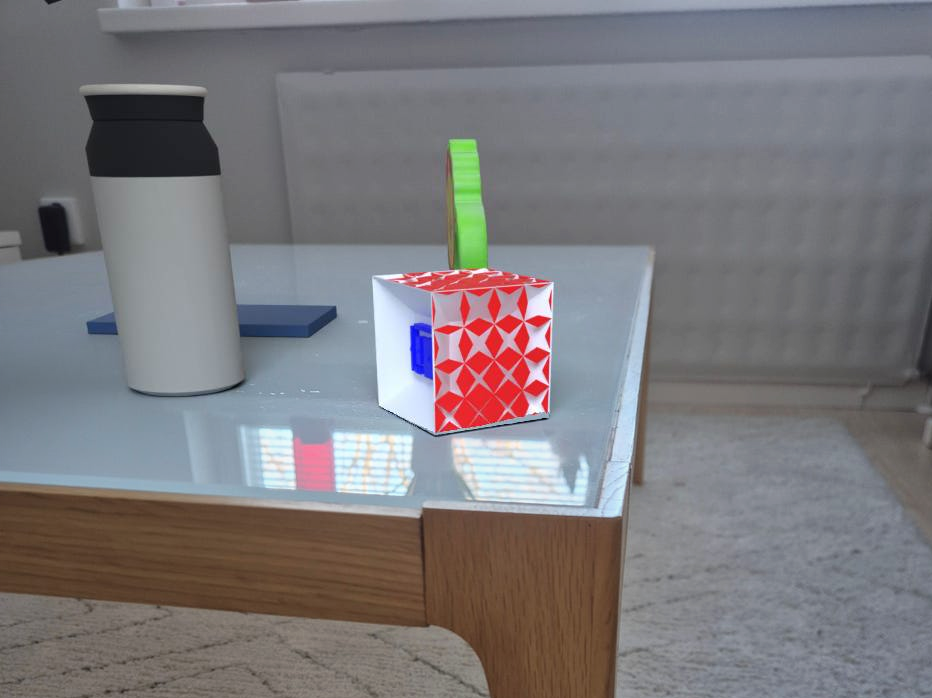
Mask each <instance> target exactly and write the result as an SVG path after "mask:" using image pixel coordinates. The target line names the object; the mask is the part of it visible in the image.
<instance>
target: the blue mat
mask: <svg viewBox="0 0 932 698" xmlns="http://www.w3.org/2000/svg"><path fill="white" fill-rule="evenodd" d="M236 305H237V314H238V323H239V331H240V337H273V338H274V337H275V338H276V337H282V338H283V337H285V338H310V337H311V336H313V334H315V333H316V332H318V331H319V330H320V329H322V328H323V327H324V326H326V325H327V324H329V323H330V322H332V321H333V320H334V319H335V318H337V317H338V312H337V311H338V310H337V305H322V304H321V305H314V304H313V305H309V304H240V303H239V304H238V303H236ZM85 325H86V329H87V333H88V334H90V335H94V334H95V335H118V332H117V326H116V320H115V315H114V311H112V312H109V313H107V314H104V315H101V316H99V317H96V318H94V319H93V318H92V319H90V320H87V321H86V322H85Z"/></svg>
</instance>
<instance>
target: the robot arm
mask: <svg viewBox="0 0 932 698" xmlns="http://www.w3.org/2000/svg"><path fill="white" fill-rule="evenodd" d="M60 1H62V0H44V2H45V3H46V4H47V5H48V6H49V5H52V4H55V3H58V2H60Z"/></svg>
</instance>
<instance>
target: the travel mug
mask: <svg viewBox="0 0 932 698" xmlns="http://www.w3.org/2000/svg"><path fill="white" fill-rule="evenodd" d="M78 92H79V94H80V95H81V96H83V98H84V100H85V102H86V105H87V108H88V111H89V112H88V113H89V116H90V119H91V121H92V125H91V128H90V130H89V135H88V138H87V141H86V144H85V147H84V149H85V155H86V159H87V161H86V162H87V166H88V173H89V176H90V177H89V179H90V183H91V189H92V196H93V200H94V206H95V212H96V218H97V223H98V230H99V234H100V241H101V246H102V252H103V257H104V264H105V269H106V275H107V279H108V280H107V281H108V285H109V286H108V287H109V292H110V297H111V303H112V309H113V312H114V315H115V320H116V326H117V332H118V334H117V337H118V342H119V349H120V353H121V354H120V355H121V360H122V365H123V366H122V367H123V370H124V376H125V377H124V378H125V383H126V386H128V387H129V388H131V389H132V390H135V391H137V392H140V393H142V394H144V395H149V396H157V397H190V396H199V395H209V394H215V393H220V392H222V391H226V390H229V389H231V388H233V387H235V386H237V385H238V384H239V383H240V382H242V381H244V379H245V376H246V374H245V367H244V358H243V357H244V356H243V351H242V350H243V349H242V341H241V340H242V339H241V336H240V331H239V323H238V314H237V305H236V304H237V297H236V290H235V289H236V288H235V280H234V273H233V264H232V255H231V247H230V237H229V229H228V222H227V221H228V220H227V212H226V204H225V197H224V188H223V180H222V170H221V162H220V154H219V147H218V146H217V145H218V144H216V142H215V140H214V138H213V137H212V135H211V133H210V131H209V130H208V128H207V126H206V125H205V123H204V121H205V100H206V99H205V98H207V97H208V94H209V93H208V90H207V88H206V87H203V86H198V85H197V86H196V85H182V84H157V83H104V84H101V83H100V84H84V85H81V86H80V87H79V89H78Z"/></svg>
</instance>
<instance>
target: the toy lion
mask: <svg viewBox="0 0 932 698" xmlns="http://www.w3.org/2000/svg"><path fill="white" fill-rule="evenodd" d="M481 178H482V177H481V165H480V154H479V152H478V144H477V140H476V139H474V138H451V139H448V144H447V146H446V159H445V229H446V245H447V246H446V247H447V263H448V271H450V270H463V269H478V268H488V269H489V252H488V251H489V250H488V249H489V248H488V233H487V221H486V220H487V219H486V211H485V208H484V203H483V198H482V197H483V195H482V193H483V192H482V180H481Z"/></svg>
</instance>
